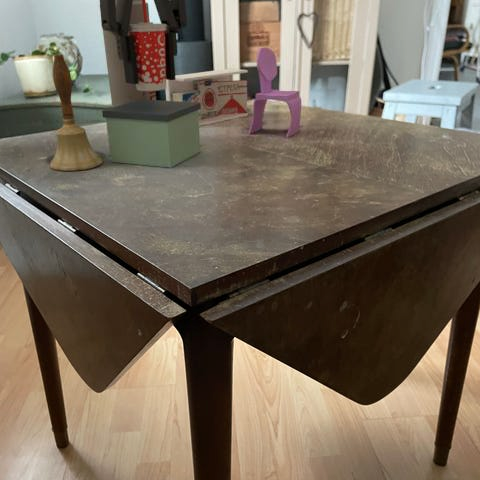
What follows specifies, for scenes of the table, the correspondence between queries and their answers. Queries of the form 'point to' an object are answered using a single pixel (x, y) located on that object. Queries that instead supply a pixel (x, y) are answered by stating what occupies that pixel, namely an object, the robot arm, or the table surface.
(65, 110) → the hand bell
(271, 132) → the table surface
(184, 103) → the storage box
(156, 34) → the beverage cup
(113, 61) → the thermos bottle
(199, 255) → the table surface
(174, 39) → the robot arm
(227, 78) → the cigarette display
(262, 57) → the toy chair
